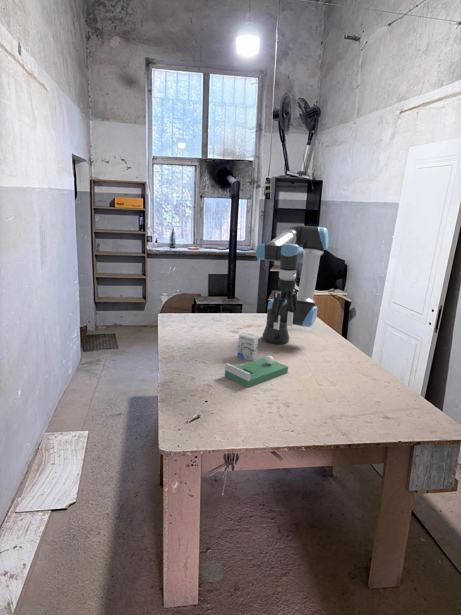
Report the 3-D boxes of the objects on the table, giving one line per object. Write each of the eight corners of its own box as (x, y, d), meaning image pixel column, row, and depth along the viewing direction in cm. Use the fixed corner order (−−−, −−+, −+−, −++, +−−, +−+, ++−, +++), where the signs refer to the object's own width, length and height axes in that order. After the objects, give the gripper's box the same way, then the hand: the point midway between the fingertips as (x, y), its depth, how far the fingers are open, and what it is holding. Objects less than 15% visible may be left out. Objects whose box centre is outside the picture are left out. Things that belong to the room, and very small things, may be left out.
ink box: (236, 357, 208) (238, 334, 205) (241, 354, 212) (242, 332, 209) (252, 361, 204) (254, 338, 201) (257, 358, 208) (258, 335, 205)
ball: (263, 363, 194) (263, 355, 193) (268, 361, 196) (269, 353, 195) (269, 366, 191) (270, 358, 190) (275, 364, 193) (276, 356, 192)
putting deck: (224, 376, 185) (225, 363, 183) (264, 363, 202) (265, 351, 201) (247, 387, 175) (248, 374, 174) (287, 372, 193) (288, 360, 191)
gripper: (278, 282, 179) (273, 333, 185) (308, 278, 193) (303, 325, 199) (264, 279, 184) (261, 329, 190) (295, 275, 199) (291, 321, 204)
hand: (282, 327), depth 194 cm, fingers open, 9 cm apart
